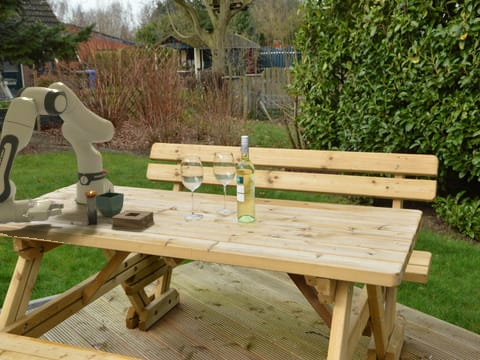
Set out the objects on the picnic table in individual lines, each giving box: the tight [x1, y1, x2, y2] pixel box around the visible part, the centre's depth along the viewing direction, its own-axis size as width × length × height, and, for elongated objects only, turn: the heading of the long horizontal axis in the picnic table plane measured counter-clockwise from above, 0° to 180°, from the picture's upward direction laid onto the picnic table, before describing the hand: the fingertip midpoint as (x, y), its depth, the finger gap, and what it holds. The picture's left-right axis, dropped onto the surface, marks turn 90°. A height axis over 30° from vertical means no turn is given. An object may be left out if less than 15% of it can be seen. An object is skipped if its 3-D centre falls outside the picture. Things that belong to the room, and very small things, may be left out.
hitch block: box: [111, 209, 154, 231], centre depth 215 cm, size 12×12×4 cm
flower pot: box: [96, 192, 125, 218], centre depth 228 cm, size 9×9×9 cm
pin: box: [84, 191, 98, 226], centre depth 215 cm, size 5×5×13 cm
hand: (62, 208), depth 212 cm, fingers open, 8 cm apart
